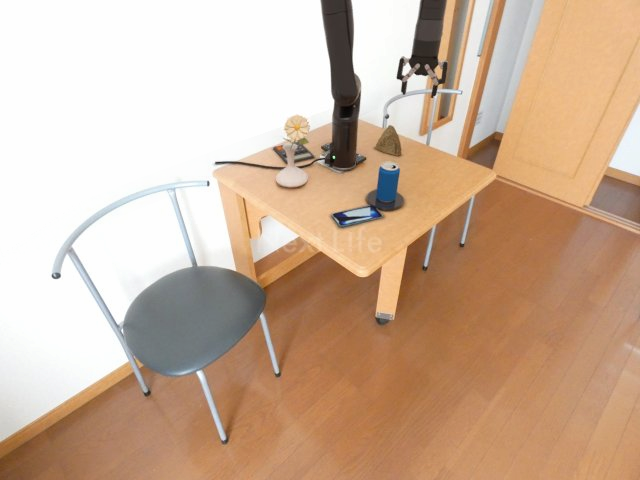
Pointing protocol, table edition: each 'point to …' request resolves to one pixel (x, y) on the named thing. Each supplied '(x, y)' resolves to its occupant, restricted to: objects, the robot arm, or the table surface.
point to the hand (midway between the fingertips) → (418, 95)
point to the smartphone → (356, 216)
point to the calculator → (299, 154)
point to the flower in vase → (297, 131)
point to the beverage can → (388, 181)
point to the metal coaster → (384, 206)
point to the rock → (389, 142)
